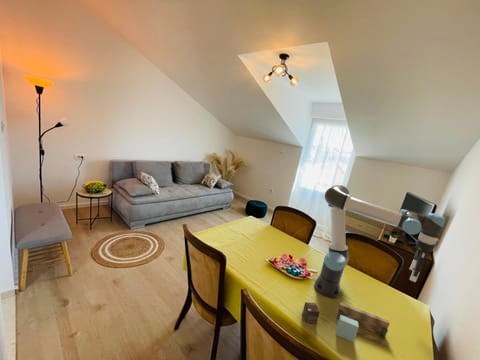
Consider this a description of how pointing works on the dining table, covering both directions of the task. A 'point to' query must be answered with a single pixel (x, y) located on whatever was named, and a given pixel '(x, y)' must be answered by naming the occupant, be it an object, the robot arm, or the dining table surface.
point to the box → (310, 312)
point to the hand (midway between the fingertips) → (412, 275)
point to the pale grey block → (347, 328)
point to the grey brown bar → (365, 322)
